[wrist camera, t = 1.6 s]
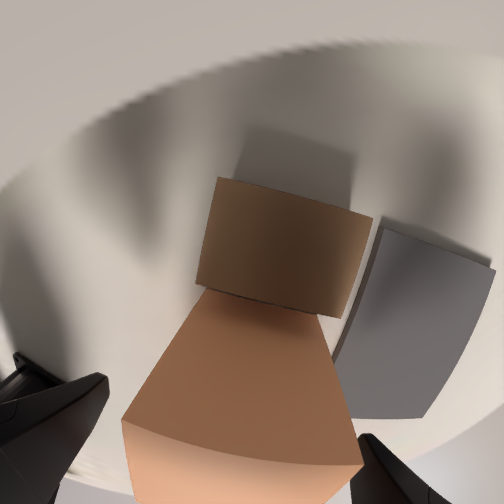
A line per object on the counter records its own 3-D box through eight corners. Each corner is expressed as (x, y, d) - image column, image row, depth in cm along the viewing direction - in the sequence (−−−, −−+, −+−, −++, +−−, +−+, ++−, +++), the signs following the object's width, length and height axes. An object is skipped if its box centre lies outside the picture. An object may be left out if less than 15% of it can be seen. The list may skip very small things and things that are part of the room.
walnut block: (213, 261, 12) (195, 283, 9) (231, 181, 11) (217, 176, 8) (324, 289, 12) (340, 318, 9) (348, 211, 11) (373, 218, 8)
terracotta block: (190, 374, 13) (136, 501, 5) (206, 288, 12) (121, 419, 4) (284, 396, 13) (287, 532, 5) (316, 315, 12) (364, 464, 4)
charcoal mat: (307, 407, 13) (309, 414, 12) (378, 226, 11) (384, 228, 10) (418, 412, 13) (422, 418, 12) (489, 267, 11) (496, 270, 10)
